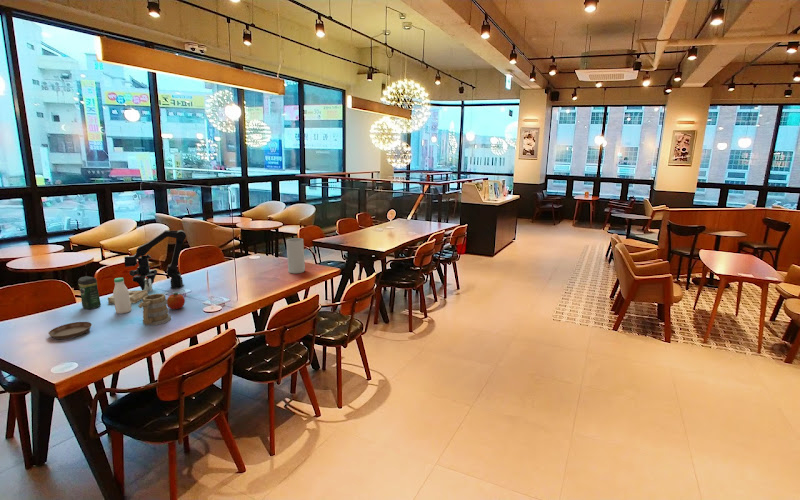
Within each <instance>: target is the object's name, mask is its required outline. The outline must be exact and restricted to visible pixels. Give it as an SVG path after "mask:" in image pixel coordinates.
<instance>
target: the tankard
mask: <svg viewBox="0 0 800 500" xmlns="http://www.w3.org/2000/svg"><path fill="white" fill-rule="evenodd" d="M167 299H168V298H166V295H165V293H153V294H148V296H145V297H143V298H142V299H141V300H142V301H140V303H139V304H138V308H139V309H143V310H142V318H143V319H142V323H143V324H144V325H145V326H158V325H162V324H166V323H167V322H169V321H170V320H171V319H172V317H171V315H170V314H169V307H168V305H167V304H168V303H167Z"/></svg>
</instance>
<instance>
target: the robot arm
mask: <svg viewBox="0 0 800 500" xmlns="http://www.w3.org/2000/svg"><path fill="white" fill-rule="evenodd" d="M186 234H187V233H186V232H185V230H183V229H179V230H168V229H165V230H164V231H163V232H161V233H160V234H158V235H157V236H155V237H154V238H153V239H151V240H150V241H148V242H145V243H144V244H141V245H139V246H138V247H136V252H135V254H134V255H129V256H128V255H125V256H124V267H125V268H127V267H136V265H138V267H137V268H136V269H135V270H134V269H132V270H129V276H131V277H132V282H135V283H138V286H139V288H140V289H141V290H144V288H145V281H146V280H145V279H146V278H147V279H151V283H152V285H153V283H154V281H155V279H156V277H157V274H158V270H157V269H150V268H151V266H152V265H150V264H149V259H151V258H152V256H151V255H150V254H149V253H148V252H150V250H151V249H152V248H153V247H155V246H156V245H159V243H160V242H162V241H163V240H165V239H167V238H173V239H175V246H174V251H173V255H172V259H171V263H170V264H168V265H167V269H166V274H167V276H168V277H169V278H170V289H181V288H182V287H184V286H185V284H184V283H183V276H182V273H181V272H180V271H178V263H179V258H180V255H181V254H180V253H181V251H182V247H183V246H182V245H183V243H184V242H185V240H186V237H187V235H186Z"/></svg>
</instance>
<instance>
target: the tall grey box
mask: <svg viewBox="0 0 800 500" xmlns="http://www.w3.org/2000/svg"><path fill="white" fill-rule="evenodd" d="M145 280H146V281H145V288H144V290H147V293H148V292H151V291H153V284H152V283H151V279H148V278H145Z"/></svg>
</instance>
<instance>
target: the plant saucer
mask: <svg viewBox="0 0 800 500" xmlns="http://www.w3.org/2000/svg"><path fill="white" fill-rule="evenodd" d="M92 325H93V323H91V321H90V322H89V321H75V322H71V323H65V324H62V325H60V326H56V327H54V328H52V329H51V330H49V331H48V336H49V337H51V338H53V339H55V340H68V339H74V338H77V337H80V336H82V335H85V334H86V333H88V331H89V330H90V329H91V328H92Z"/></svg>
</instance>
